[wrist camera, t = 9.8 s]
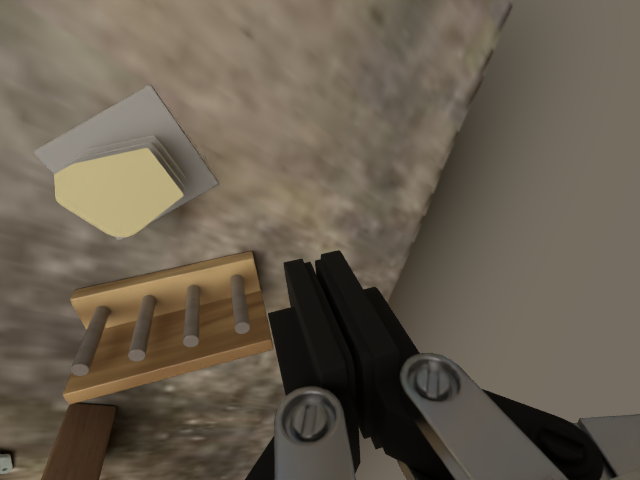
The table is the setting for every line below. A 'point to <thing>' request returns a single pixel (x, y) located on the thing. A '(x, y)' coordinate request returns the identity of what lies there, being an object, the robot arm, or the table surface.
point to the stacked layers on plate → (126, 166)
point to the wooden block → (80, 443)
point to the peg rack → (167, 325)
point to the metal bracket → (5, 463)
